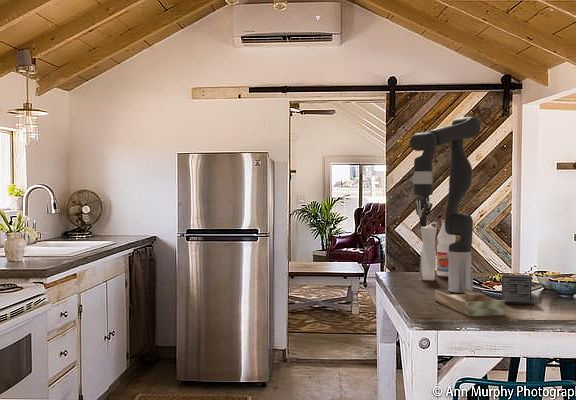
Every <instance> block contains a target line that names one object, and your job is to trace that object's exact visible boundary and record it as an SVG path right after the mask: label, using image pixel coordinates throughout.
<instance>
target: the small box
mask: <svg viewBox="0 0 576 400" xmlns="http://www.w3.org/2000/svg"><path fill="white" fill-rule="evenodd" d="M501 300H505V304H513V305H514V304H517V305H532V304H533V303H532V277H531V275H529V274H528V275H527V274H526V275H523V274H501Z"/></svg>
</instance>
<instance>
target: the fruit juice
mask: <svg viewBox="0 0 576 400" xmlns="http://www.w3.org/2000/svg"><path fill="white" fill-rule="evenodd" d="M440 227H441V228H440V230H439V231H438V234H437V235H436V239H437V246H436V275H437V276H438V277H439V276H440V277H447V278H448V272H449V245H450V244H452V243H455V242H457V241H456V240H457V235H449V234H447V233H446V231H445V219H441V226H440Z"/></svg>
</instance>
